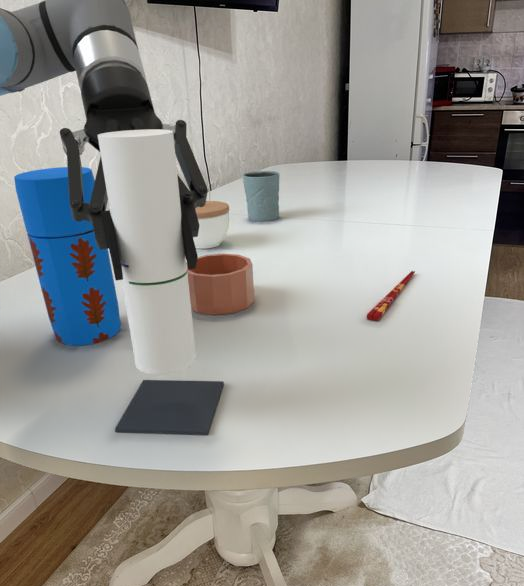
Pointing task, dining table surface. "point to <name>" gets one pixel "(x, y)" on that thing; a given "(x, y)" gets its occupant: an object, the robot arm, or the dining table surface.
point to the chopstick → (388, 299)
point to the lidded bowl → (212, 224)
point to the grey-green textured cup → (262, 195)
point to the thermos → (68, 258)
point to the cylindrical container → (150, 246)
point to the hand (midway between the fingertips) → (156, 268)
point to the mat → (172, 407)
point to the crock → (221, 284)
